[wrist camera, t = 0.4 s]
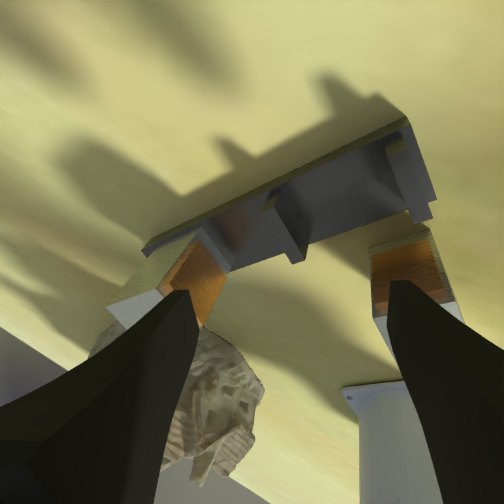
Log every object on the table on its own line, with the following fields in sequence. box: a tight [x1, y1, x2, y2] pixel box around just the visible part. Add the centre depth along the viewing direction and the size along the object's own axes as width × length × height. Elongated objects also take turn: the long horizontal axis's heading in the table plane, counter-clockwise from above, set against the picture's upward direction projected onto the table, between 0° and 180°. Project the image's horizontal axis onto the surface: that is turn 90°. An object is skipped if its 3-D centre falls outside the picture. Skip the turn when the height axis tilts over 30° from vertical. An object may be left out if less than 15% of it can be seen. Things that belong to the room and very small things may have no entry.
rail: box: [105, 116, 437, 330], centre depth 18 cm, size 18×4×8 cm, turn 122°
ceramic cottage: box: [88, 321, 265, 486], centre depth 28 cm, size 16×16×15 cm
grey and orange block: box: [369, 229, 465, 365], centre depth 18 cm, size 4×4×6 cm
